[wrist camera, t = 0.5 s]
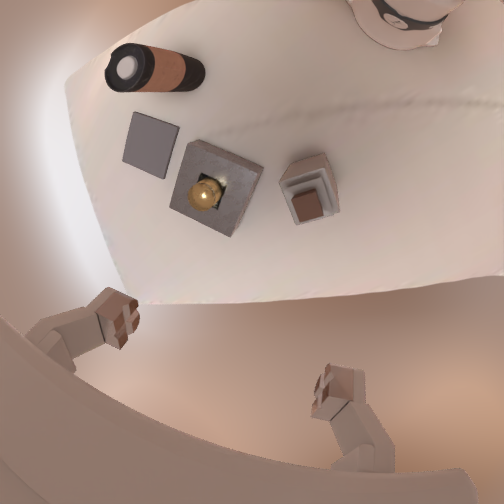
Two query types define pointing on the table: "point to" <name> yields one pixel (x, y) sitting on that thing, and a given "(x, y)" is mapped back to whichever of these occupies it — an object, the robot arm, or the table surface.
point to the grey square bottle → (310, 189)
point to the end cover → (206, 193)
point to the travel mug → (152, 70)
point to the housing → (223, 169)
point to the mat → (150, 144)
